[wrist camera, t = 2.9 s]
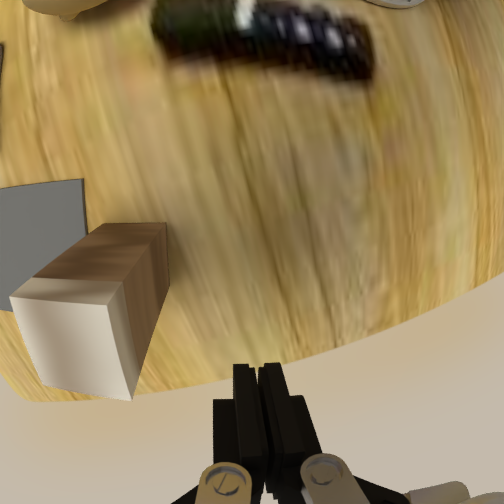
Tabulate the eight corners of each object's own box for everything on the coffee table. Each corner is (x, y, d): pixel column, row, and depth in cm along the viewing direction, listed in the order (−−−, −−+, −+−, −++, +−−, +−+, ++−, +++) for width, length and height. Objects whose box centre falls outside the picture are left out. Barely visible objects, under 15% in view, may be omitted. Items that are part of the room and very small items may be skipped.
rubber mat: (83, 178, 19) (81, 179, 19) (102, 319, 23) (100, 322, 23) (-27, 193, 18) (-30, 194, 17) (-4, 306, 22) (-6, 308, 21)
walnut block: (166, 222, 21) (106, 305, 9) (169, 285, 22) (131, 400, 11) (103, 223, 20) (9, 296, 9) (110, 283, 22) (43, 384, 11)
